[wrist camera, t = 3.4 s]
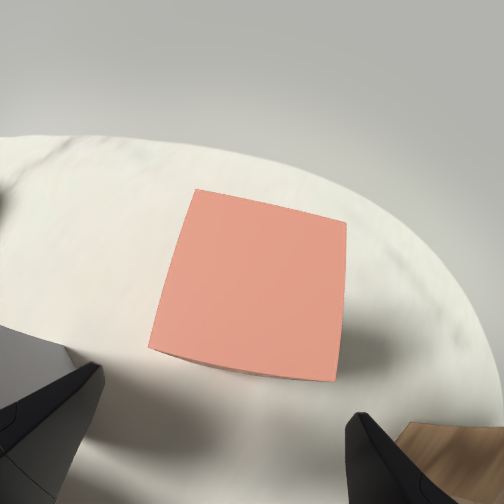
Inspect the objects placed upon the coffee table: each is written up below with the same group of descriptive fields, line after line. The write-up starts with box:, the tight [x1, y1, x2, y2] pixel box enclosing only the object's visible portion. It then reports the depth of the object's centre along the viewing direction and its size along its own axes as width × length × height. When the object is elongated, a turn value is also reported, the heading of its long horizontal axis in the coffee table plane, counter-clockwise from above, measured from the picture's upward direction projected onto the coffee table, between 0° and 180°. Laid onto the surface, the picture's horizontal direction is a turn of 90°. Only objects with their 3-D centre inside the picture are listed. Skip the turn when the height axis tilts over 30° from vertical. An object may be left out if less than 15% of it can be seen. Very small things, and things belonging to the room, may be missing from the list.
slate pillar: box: [0, 325, 76, 409], centre depth 10 cm, size 5×5×13 cm
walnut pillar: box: [395, 422, 504, 504], centre depth 10 cm, size 5×5×13 cm
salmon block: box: [148, 189, 346, 382], centre depth 13 cm, size 5×5×13 cm
